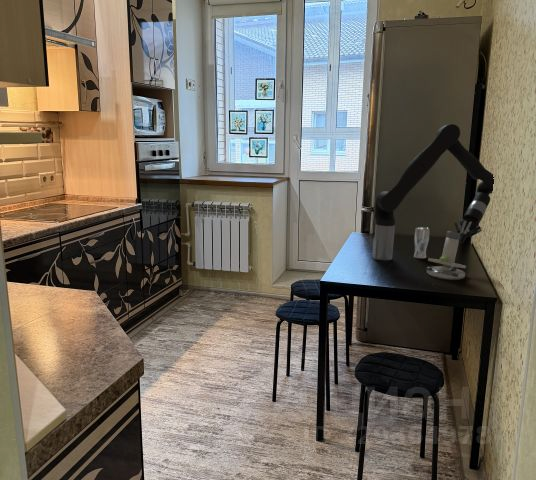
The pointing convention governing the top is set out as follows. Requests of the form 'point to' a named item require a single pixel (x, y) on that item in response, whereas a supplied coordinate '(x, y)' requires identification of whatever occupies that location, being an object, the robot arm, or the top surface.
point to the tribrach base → (446, 272)
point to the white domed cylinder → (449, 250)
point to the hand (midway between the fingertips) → (460, 241)
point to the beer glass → (421, 242)
